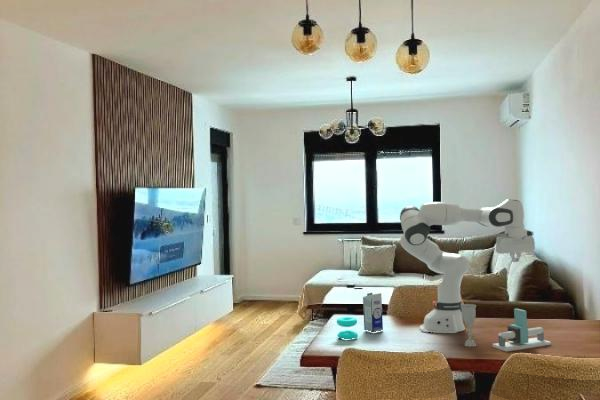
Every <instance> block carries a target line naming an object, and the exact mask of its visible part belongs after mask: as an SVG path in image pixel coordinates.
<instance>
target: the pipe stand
mask: <svg viewBox="0 0 600 400" xmlns="http://www.w3.org/2000/svg"><path fill="white" fill-rule="evenodd" d="M544 331H545V330H544V328H543V327H541V326H537V327H531V328H528V342H529V343H524V344H520V343H516V342H513V341H510V340H508V339H510V338H516V334H515V331H509V332H508V331H504V332H498V335H497V336H498V342H497V343H496V342H495V343H492V348H495V349H498V350H501V351H504V352H513V351H519V350H526V349H531V348H537V347H544V346H549V345H550V346H551V345H552V342H551V341H549V340H546V339H545V334H544V333H545V332H544ZM529 336H536V337H531V338H529ZM506 340H508V341H506Z"/></svg>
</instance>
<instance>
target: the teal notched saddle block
mask: <svg viewBox="0 0 600 400" xmlns="http://www.w3.org/2000/svg"><path fill="white" fill-rule="evenodd" d="M513 313H514V317H513V318H514V319H513V320H514V324H513V323H512V324H509V326H513V327H516V328H519V329H520V344H524V343H529V342H528V339H529V336H528V329H529V327H528V318H527V310H524V309H520V308H513ZM512 331H514V330H512ZM515 339H516V338H515Z"/></svg>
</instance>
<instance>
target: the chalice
mask: <svg viewBox="0 0 600 400" xmlns="http://www.w3.org/2000/svg"><path fill="white" fill-rule="evenodd" d="M461 307H462V312H461V314H462V320H463V323H464V324H465V325H466V326H467V327H468V329H467V332H468V333H467V335H468V339H466V340H465V343H464V346H465V347H468V346H469V347H468V348H471V346H473V347H476V346H477V344H476V342H475V340H474V339H472V329H471V327H472V326H473V325H474V323H475V320H476V317H477V316H476V312H477V311H476V307H477V305H476V304H473V303H464V304H462V305H461Z"/></svg>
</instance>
